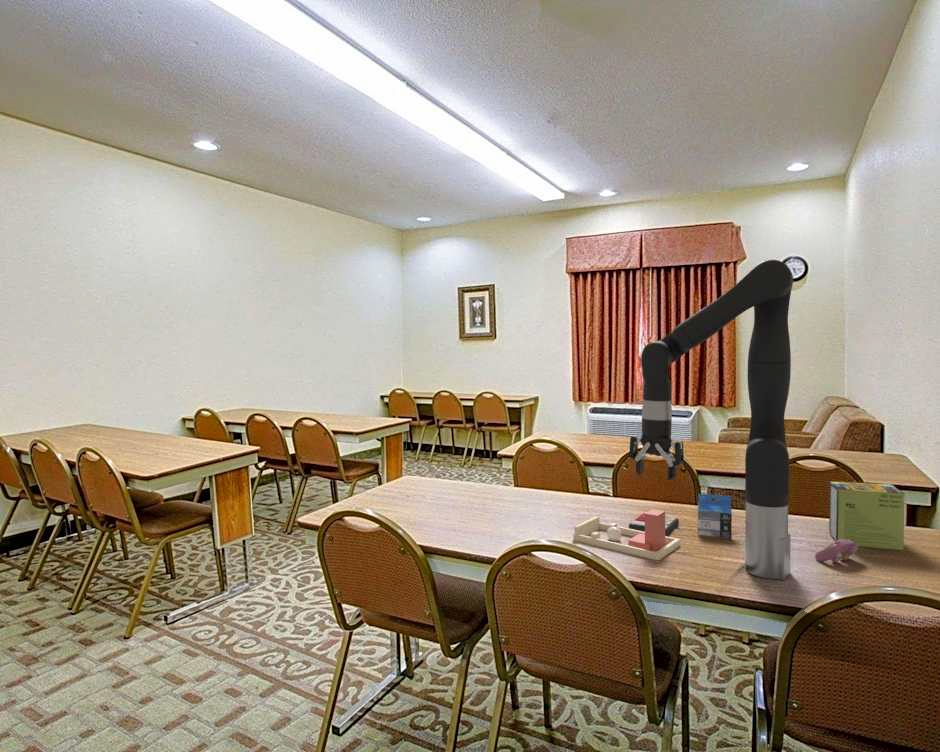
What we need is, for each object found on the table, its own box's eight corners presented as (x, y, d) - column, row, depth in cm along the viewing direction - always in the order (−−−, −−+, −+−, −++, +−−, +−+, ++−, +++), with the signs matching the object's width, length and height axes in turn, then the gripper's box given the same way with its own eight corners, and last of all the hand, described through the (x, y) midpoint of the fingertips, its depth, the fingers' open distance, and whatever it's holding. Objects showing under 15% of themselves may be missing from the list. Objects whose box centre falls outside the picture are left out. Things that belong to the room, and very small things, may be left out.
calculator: (679, 516, 175) (666, 527, 163) (679, 530, 175) (666, 542, 163) (643, 511, 181) (628, 521, 169) (643, 525, 181) (628, 536, 169)
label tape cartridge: (697, 539, 164) (697, 496, 163) (697, 535, 168) (697, 493, 167) (731, 542, 161) (731, 499, 160) (730, 538, 164) (730, 495, 164)
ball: (624, 540, 161) (623, 526, 161) (617, 544, 158) (617, 530, 158) (611, 537, 164) (611, 523, 164) (604, 541, 161) (604, 527, 161)
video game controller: (827, 571, 143) (839, 550, 140) (811, 557, 147) (823, 537, 144) (852, 564, 147) (865, 544, 144) (837, 551, 151) (849, 531, 148)
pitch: (680, 550, 156) (680, 531, 155) (658, 565, 145) (658, 546, 145) (597, 531, 172) (597, 515, 172) (573, 544, 162) (573, 527, 161)
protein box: (904, 550, 152) (905, 493, 151) (837, 545, 157) (838, 489, 156) (891, 538, 162) (892, 484, 161) (828, 533, 167) (828, 480, 166)
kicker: (666, 547, 154) (666, 510, 154) (655, 554, 149) (655, 516, 149) (639, 541, 160) (639, 505, 159) (628, 548, 154) (628, 511, 154)
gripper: (689, 418, 149) (687, 479, 150) (638, 413, 159) (637, 471, 160) (676, 421, 144) (675, 484, 145) (625, 415, 154) (624, 475, 154)
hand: (655, 477), depth 152 cm, fingers open, 8 cm apart
